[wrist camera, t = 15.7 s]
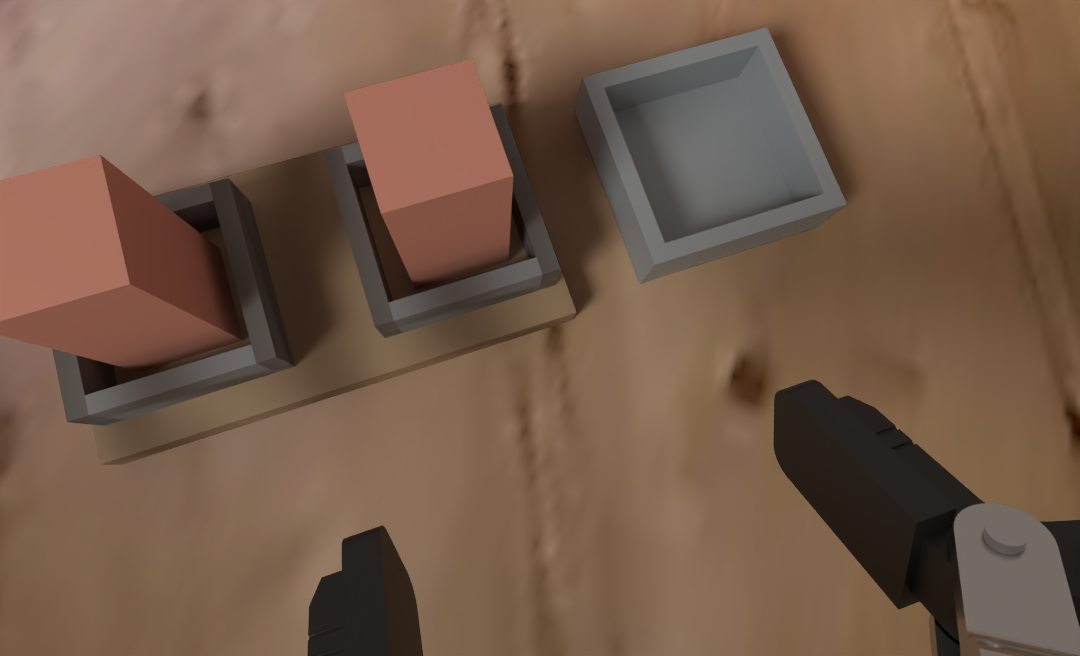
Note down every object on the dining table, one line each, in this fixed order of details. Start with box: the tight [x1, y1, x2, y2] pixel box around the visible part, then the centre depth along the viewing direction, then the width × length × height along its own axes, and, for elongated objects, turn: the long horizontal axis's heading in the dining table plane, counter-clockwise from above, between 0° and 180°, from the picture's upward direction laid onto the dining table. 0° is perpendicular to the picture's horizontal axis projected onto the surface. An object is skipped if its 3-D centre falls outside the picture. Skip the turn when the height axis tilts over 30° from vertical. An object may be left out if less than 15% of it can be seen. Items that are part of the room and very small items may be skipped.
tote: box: [575, 27, 847, 283], centre depth 32 cm, size 10×10×3 cm
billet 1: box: [0, 155, 244, 372], centre depth 24 cm, size 4×4×9 cm
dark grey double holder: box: [52, 102, 576, 465], centre depth 29 cm, size 21×11×4 cm, turn 109°
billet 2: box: [344, 60, 513, 289], centre depth 26 cm, size 4×4×9 cm
